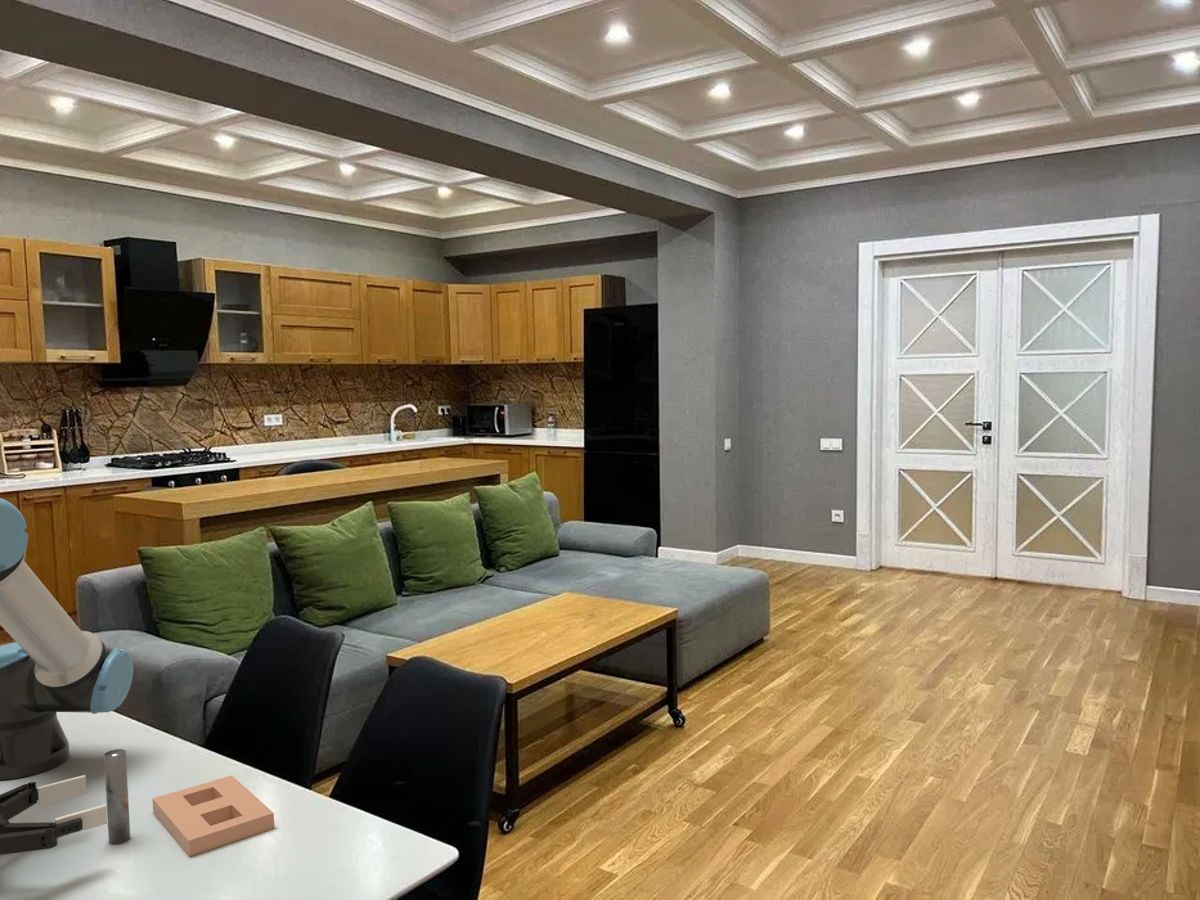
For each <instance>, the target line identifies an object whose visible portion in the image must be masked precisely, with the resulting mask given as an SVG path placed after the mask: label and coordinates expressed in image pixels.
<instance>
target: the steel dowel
mask: <svg viewBox="0 0 1200 900" xmlns="http://www.w3.org/2000/svg"><path fill="white" fill-rule="evenodd" d="M103 759H104V763H103V764H104V777H105V779H104V781H105V796H106V809H107V831H108V832H107V833H108V834H107V835H108V844H110V845H121V844H123V843H126V842H128V841H129V840H131V828H130V827H131V826H130V825H131V822H130V806H129V805H130V804H129V788H128V787H129V785H128V784H129V783H128V769H127V767H128V765H127V751H126V750H125V749H122V748H118V749H112V750H109V751H107V752H105V753H104V754H103Z"/></svg>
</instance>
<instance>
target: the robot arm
mask: <svg viewBox="0 0 1200 900" xmlns="http://www.w3.org/2000/svg"><path fill="white" fill-rule="evenodd" d="M27 527H28V526H27V522H26V520H25V518H24V515H23V514H22V513H21V511H20V510H19V509H18V508H17V507H16V506H15V505H14V504H13V503H11V502H9V501H8V500H6V499H4V498H1V497H0V627H2V628H3V629H4V631H6V632H7V633H8V635H9V636H11V638H12V640H14V642H11V643H8V644H7V643H6V644H4V645H1V646H0V780H1V781H3V780H12V779H14V780H15V779H19V778H24V777H29V776H33V775H37V774H40V773H43V772H46V771H48V770H51V769H53V768H55V767H57V766H59V765H61V764H62V763H64V762H65V761H66V760H68V759H69V757H70V744H69V740H68V738H67V736H66V734H65V732H64V730H63V727H62V726H61V722H60V720H58V715H57V713H87V714H89V713H91V714H92V715H95V714H98V713H99V714H100V713H110V712H113V711H114V710H116V709H118V708H119V707H120V706H121V705H122V703H124V701H125V699H126V698H127V696H128V694H129V691H130V689H131V686H132V682H133V675H134V661H133V658H132V656H131V654H130V652H129V651H128V650H126V649H123V648H119V647H115V648H109V647H107V646H106V645H105V644H104V642H103V641H102V640H101V638H100V637H99V636H97V634H95V633H93V632H91V631H88V630H87V631H86V630H81V629H80V628H79V626H77V624H76V623H75V622H74V620H73V619H72V618H71V617H70V615H69V614H68V613H67V611H66V610H65V609H64V607H63V606H61V605H60V603H59V602H58V601H57V599H56V598H55V597H54V596H53V595H52V593H51V592H50V590H48V588H47V587H46V586H45V585H44V584H43V582H42V581H41V580H40V578H39V577H38V576H37V575H36V573H34V571H33V570H32V568H30V567H29V565H28V564H27V563H26V561H25V559H26V553H27V547H28V544H29V543H28V541H29V533H27V532H25V531H26V529H27ZM86 778H87V777H86V774H83V775H79V776H75V777H71V778H68V779H67V778H66V779H63V780H60V781H56V782H51V783H48V784H45V785H44V784H43V785H41V786H40V785H39V786H37V782H36V781H31V782H28V783H26V784H25V783H24V784H22V785H19V786H16V787H15V788H12V789H10V790H8V791H5V792H3V793H1V794H0V856H1V855H2V856H3V855H10V854H11V855H12V854H17V853H18V854H19V853H26V852H34V851H36V852H37V851H42V850H50V849H52V848H56V847H57V846H58V839H60V838H63V837H68V836H70V835H74V834H77V833H80V832H83V831H87V830H90V829H95V828H98V827H100V826H104V825H108V818H107V804H105V803H104V804H101V805H98V806H93V807H91V808H87V809H84V810H80V811H75V812H73V813H70V814H66V815H62V816H60V817H55V818H54V822H53V821H50V822H45V821H44V822H11V821H9V820H11V819H13V818H14V817H16V816H17V815H19V814H21V813H22V812H24V811H26V810H28V809H30V808H31V807H33V806H34V805H36V804H38V806H44V805H46V804H51V803H54V802H58V801H62V800H65V799H69V798H73V797H76V796H80V795H84V794H87V793H88V791H87V779H86Z"/></svg>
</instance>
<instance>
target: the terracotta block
mask: <svg viewBox="0 0 1200 900" xmlns="http://www.w3.org/2000/svg"><path fill="white" fill-rule="evenodd" d="M152 813H153V814H154V816H155V817H156V818H157V820H159V822H160V823H161V824H162V826H163V827H164V828H165V829H166V830H167V831H168V833H169V834H170V835H171V836H172V838H173V839H174V840H175V841H176V842H177V843H178V845H179V846H180V848H182V850H183V851H184V852H185V853H186V854H187V857H189V858H191V857H193V856H196V855H198V854H202V853H205V852H208V851H210V850H214V849H217V848H219V847H222V846H226V845H228V844H231V843H234V842H237V841H239V840H243V839H246V838H249V837H252V836H255V835H258V834H260V833H263V832H267V831H269V830H272V829H275V812H274V811H272V810H271V809H270V808H269V807H268V806H267V805H265V803H264V802H262V801H261V800H260V799H259V798H258V797H257V796H256V795H254V793H252V792H251V791H250V789H248V788H247V787H245V786H244V785H243V783H241V781H239V780H238V779H237V778H236V777H235V776H233V775H232V774H231V775H229V776H225V777H222V778H218V779H215V780H211V781H207V782H204V783H200V784H197V785H194V786H193V785H192V786H191V787H187V788H184V789H180V790H176V791H173V792H170V793H166V794H163V795H159V796H156V797H153V798H152Z"/></svg>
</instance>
